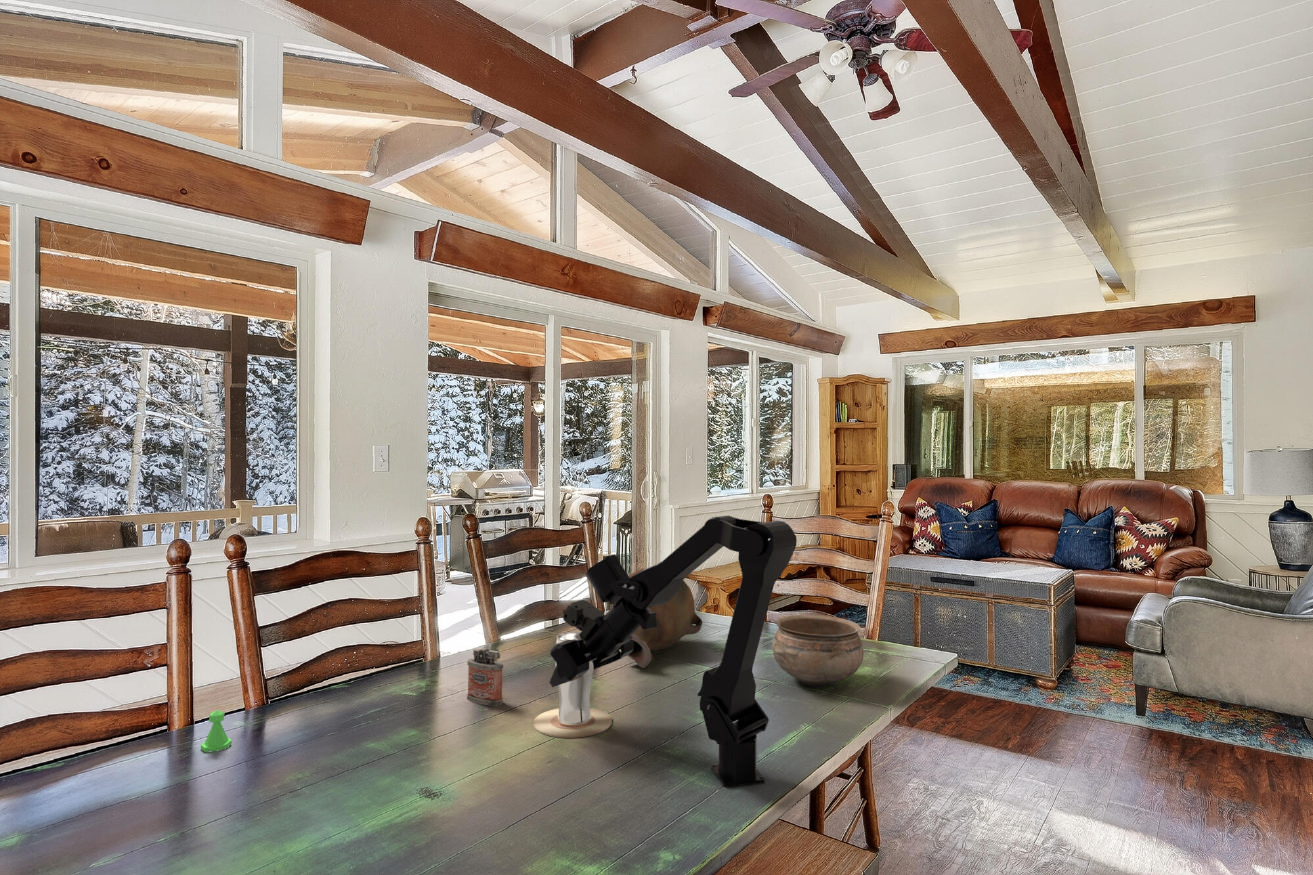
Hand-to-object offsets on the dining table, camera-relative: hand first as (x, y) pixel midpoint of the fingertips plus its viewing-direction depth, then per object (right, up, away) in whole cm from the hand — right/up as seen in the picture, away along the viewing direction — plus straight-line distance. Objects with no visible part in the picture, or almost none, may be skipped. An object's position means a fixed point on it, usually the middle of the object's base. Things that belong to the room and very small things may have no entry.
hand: (567, 677), depth 132 cm
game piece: (-56, -7, -13) cm, 58 cm away
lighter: (-17, -8, +10) cm, 21 cm away
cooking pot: (+50, -9, +23) cm, 56 cm away
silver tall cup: (+1, -7, -1) cm, 8 cm away
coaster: (+1, -8, -1) cm, 8 cm away
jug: (+14, -9, +44) cm, 47 cm away
